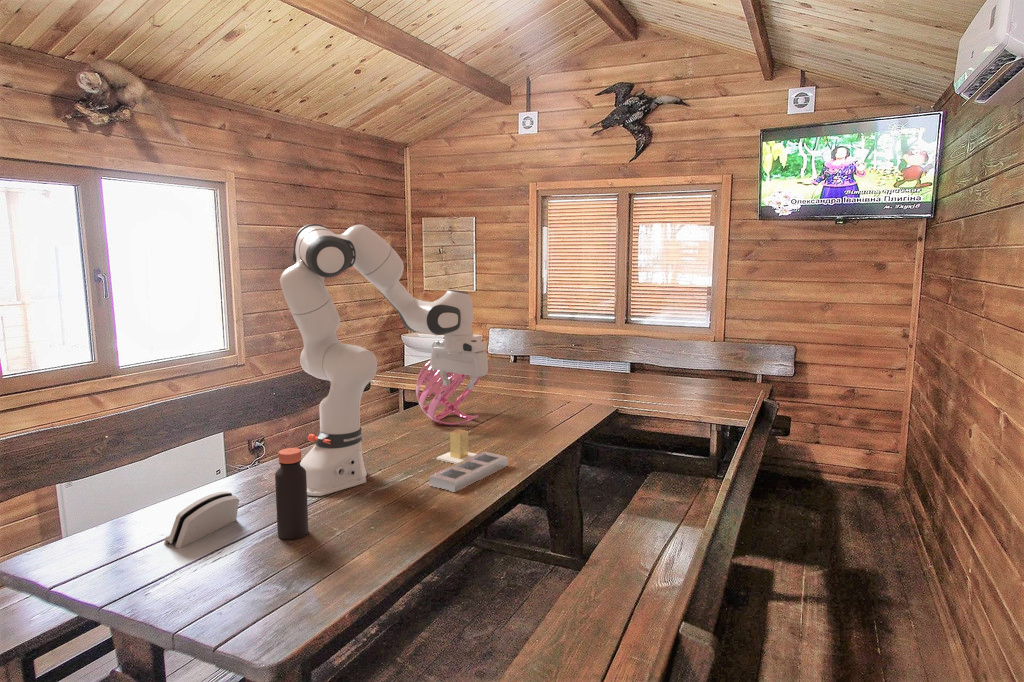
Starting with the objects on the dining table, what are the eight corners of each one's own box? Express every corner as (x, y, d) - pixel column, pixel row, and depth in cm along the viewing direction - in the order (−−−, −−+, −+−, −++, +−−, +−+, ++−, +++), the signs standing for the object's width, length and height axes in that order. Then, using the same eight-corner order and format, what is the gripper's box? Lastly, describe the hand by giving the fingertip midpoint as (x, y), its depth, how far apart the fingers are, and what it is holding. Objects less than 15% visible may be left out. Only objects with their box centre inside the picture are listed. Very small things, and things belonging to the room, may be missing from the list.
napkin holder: (221, 515, 160) (230, 481, 157) (235, 525, 158) (244, 490, 156) (162, 544, 145) (170, 506, 142) (177, 555, 143) (186, 517, 140)
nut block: (460, 458, 201) (460, 434, 200) (450, 456, 204) (450, 431, 202) (468, 455, 205) (468, 431, 203) (458, 453, 207) (458, 428, 206)
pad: (461, 466, 197) (461, 463, 197) (436, 459, 203) (436, 457, 203) (481, 457, 206) (481, 454, 206) (456, 451, 211) (456, 449, 211)
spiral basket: (514, 371, 243) (462, 327, 250) (470, 403, 222) (413, 354, 229) (488, 418, 260) (439, 376, 267) (444, 452, 239) (392, 405, 246)
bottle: (297, 525, 155) (294, 444, 152) (314, 533, 151) (311, 450, 148) (271, 534, 150) (268, 451, 147) (288, 543, 146) (284, 458, 143)
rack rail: (454, 493, 176) (454, 482, 176) (429, 485, 181) (429, 475, 181) (507, 466, 198) (507, 456, 197) (483, 460, 203) (483, 451, 202)
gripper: (425, 340, 202) (425, 384, 204) (478, 347, 191) (478, 393, 193) (438, 338, 207) (438, 381, 209) (491, 344, 196) (490, 389, 198)
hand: (458, 387), depth 201 cm, fingers open, 8 cm apart
